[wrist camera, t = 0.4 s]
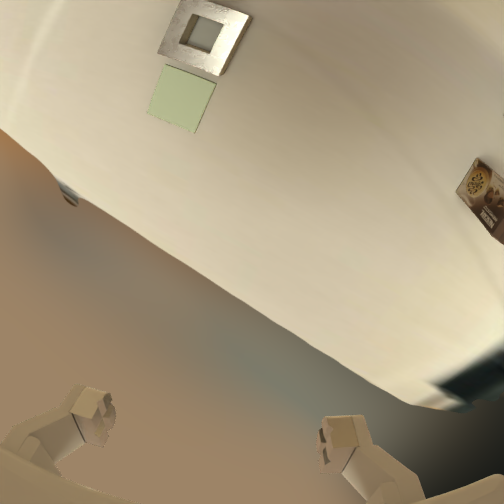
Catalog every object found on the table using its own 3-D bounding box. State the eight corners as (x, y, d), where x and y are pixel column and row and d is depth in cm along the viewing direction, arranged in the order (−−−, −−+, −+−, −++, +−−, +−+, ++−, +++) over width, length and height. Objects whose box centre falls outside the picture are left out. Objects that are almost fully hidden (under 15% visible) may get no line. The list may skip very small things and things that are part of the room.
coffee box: (473, 204, 52) (508, 250, 40) (454, 191, 52) (490, 237, 39) (495, 171, 47) (537, 211, 34) (476, 155, 46) (520, 194, 33)
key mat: (166, 64, 45) (164, 64, 45) (216, 83, 47) (215, 84, 46) (148, 112, 51) (146, 113, 51) (195, 132, 53) (194, 133, 52)
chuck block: (191, -3, 37) (183, -6, 34) (252, 18, 39) (249, 15, 36) (166, 52, 44) (157, 53, 41) (223, 73, 46) (218, 76, 42)
